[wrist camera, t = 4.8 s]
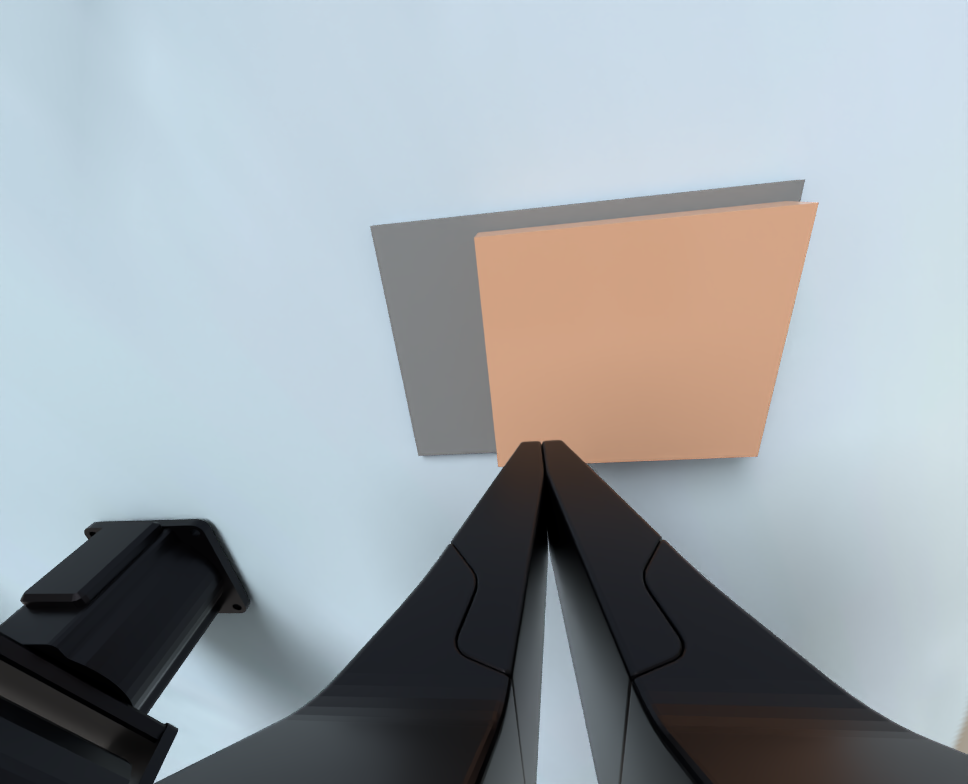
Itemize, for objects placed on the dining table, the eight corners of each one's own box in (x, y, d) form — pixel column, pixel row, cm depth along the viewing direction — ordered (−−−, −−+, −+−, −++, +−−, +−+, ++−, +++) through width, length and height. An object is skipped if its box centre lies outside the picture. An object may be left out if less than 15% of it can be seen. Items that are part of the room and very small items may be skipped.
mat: (742, 437, 16) (746, 441, 16) (419, 451, 17) (418, 455, 17) (798, 179, 12) (805, 179, 12) (373, 225, 13) (370, 226, 13)
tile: (499, 441, 16) (734, 431, 15) (498, 466, 15) (757, 456, 14) (478, 231, 13) (781, 200, 12) (474, 237, 11) (818, 202, 10)
